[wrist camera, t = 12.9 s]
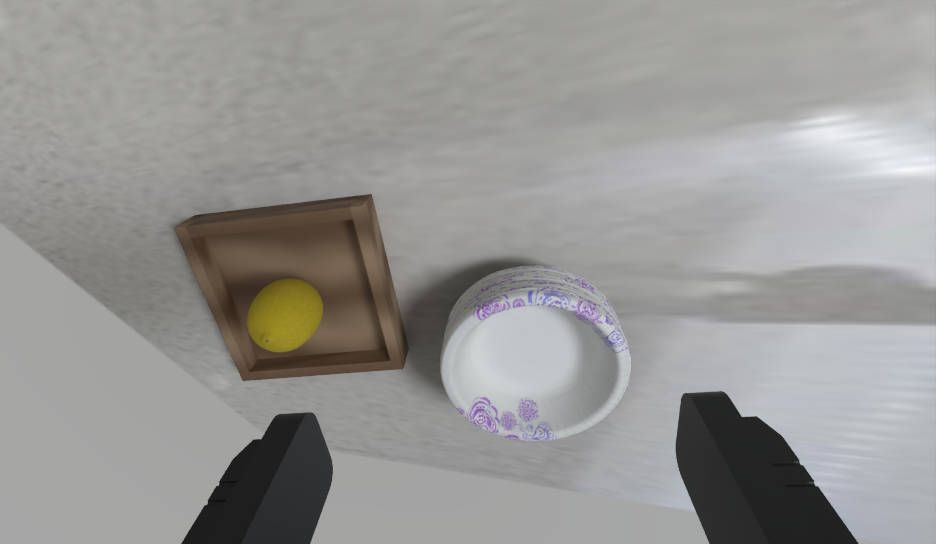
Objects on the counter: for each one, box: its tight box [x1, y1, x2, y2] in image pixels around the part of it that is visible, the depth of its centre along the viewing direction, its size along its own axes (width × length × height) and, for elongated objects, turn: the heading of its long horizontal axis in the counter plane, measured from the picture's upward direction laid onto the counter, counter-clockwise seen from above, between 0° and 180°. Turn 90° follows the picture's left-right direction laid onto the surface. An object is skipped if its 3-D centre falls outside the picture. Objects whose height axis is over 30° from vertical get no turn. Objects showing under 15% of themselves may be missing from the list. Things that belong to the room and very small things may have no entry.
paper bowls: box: [440, 265, 631, 441], centre depth 40 cm, size 15×15×8 cm
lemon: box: [247, 278, 323, 352], centre depth 38 cm, size 6×6×8 cm
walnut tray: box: [174, 194, 409, 381], centre depth 42 cm, size 16×16×3 cm
